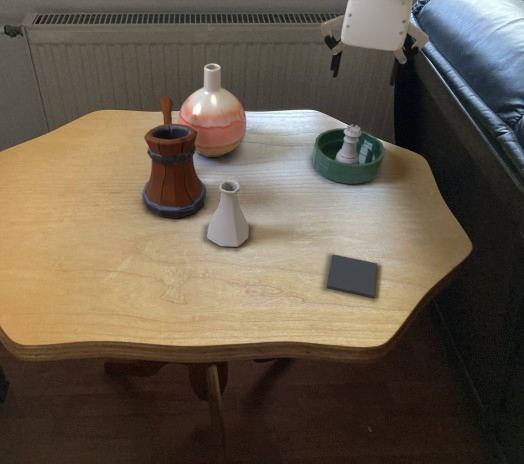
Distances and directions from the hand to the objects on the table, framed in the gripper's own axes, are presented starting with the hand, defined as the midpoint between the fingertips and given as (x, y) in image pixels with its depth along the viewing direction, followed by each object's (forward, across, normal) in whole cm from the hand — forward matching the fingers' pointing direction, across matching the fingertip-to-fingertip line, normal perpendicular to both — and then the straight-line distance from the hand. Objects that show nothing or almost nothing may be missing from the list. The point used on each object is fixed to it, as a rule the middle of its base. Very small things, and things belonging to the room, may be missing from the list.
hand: (363, 78), depth 89 cm
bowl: (+18, 0, 0) cm, 18 cm away
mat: (+18, -4, +30) cm, 36 cm away
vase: (+19, +27, +2) cm, 33 cm away
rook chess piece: (+18, 0, 0) cm, 18 cm away
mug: (+19, +30, +17) cm, 39 cm away
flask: (+18, +17, +26) cm, 36 cm away
